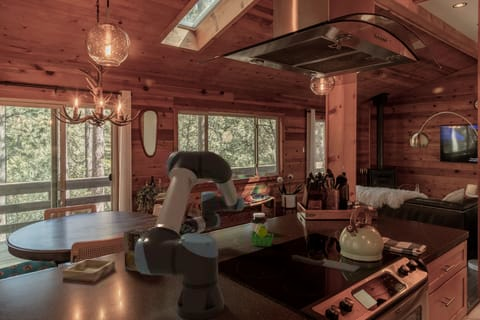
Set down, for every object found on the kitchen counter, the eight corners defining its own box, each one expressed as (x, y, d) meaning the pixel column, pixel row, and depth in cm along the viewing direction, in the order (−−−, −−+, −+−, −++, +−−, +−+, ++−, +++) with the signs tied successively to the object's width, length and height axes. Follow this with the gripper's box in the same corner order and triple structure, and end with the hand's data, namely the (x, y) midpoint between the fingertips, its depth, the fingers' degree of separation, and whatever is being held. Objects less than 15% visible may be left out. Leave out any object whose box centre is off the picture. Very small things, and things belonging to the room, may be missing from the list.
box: (93, 282, 129) (93, 273, 129) (62, 279, 132) (62, 270, 132) (115, 269, 143) (114, 261, 142) (86, 266, 146) (86, 258, 146)
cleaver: (289, 261, 150) (289, 257, 150) (297, 255, 158) (297, 251, 158) (356, 274, 135) (356, 269, 135) (361, 267, 143) (361, 262, 143)
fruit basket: (273, 243, 178) (273, 222, 178) (272, 248, 170) (272, 226, 169) (252, 242, 180) (252, 221, 180) (250, 247, 172) (250, 225, 171)
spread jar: (260, 230, 206) (260, 211, 205) (274, 233, 198) (274, 214, 197) (246, 234, 198) (246, 214, 197) (260, 237, 189) (259, 217, 189)
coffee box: (151, 267, 144) (150, 230, 144) (140, 272, 139) (140, 234, 138) (134, 264, 148) (133, 228, 148) (124, 269, 142) (123, 232, 142)
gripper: (210, 237, 157) (173, 248, 142) (179, 228, 174) (142, 237, 159) (210, 222, 157) (173, 231, 142) (178, 214, 174) (142, 222, 159)
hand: (156, 234), depth 150 cm, fingers open, 13 cm apart
